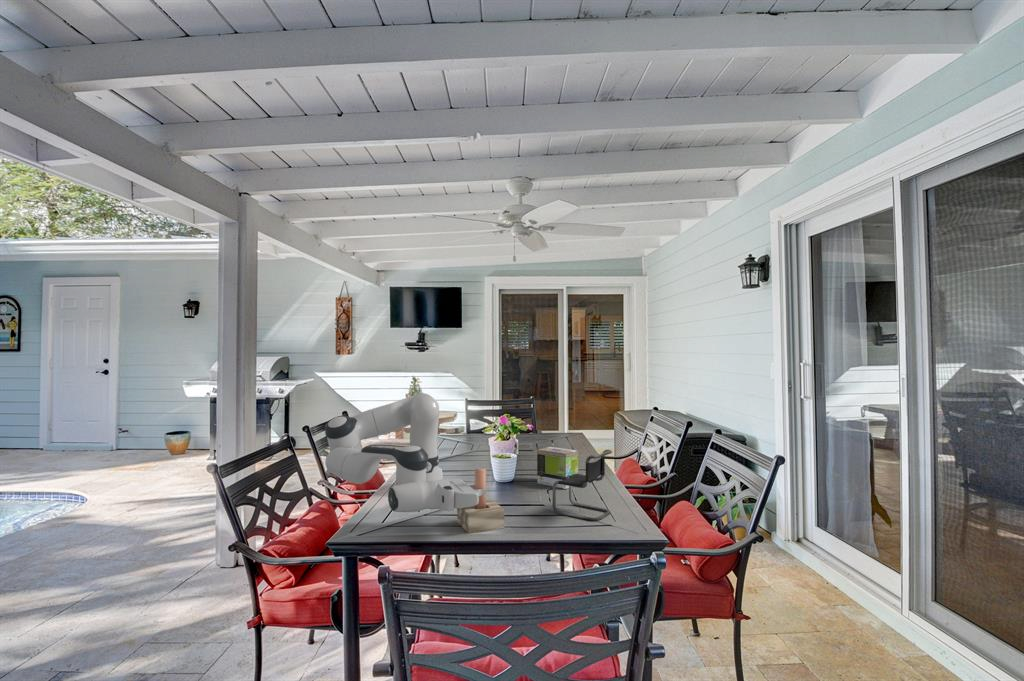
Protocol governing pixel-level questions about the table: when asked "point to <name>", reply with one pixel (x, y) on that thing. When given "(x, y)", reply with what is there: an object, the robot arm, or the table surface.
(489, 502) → the socket block
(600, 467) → the chair
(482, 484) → the dowel
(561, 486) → the tea box
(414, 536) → the table surface
